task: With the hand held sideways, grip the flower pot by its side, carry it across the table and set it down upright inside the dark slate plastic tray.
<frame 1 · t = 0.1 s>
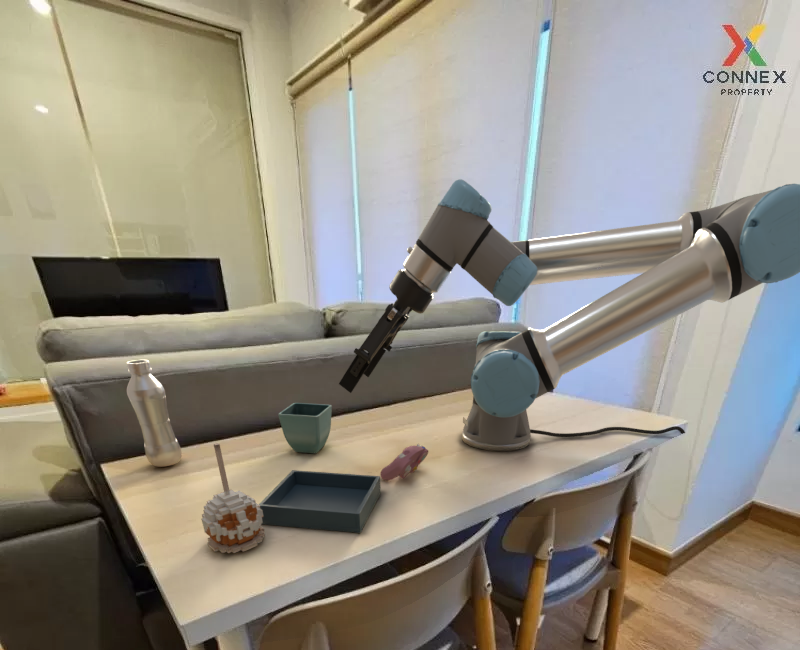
hand: (354, 380, 91), 15 cm above the table, tool tilted 35°, fingers open, 13 cm apart
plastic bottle: (167, 465, 94), on the table
pink elongated piece: (405, 475, 89), on the table
flower pot: (310, 450, 101), on the table
decorative ornament: (238, 542, 68), on the table
tray: (324, 507, 77), on the table
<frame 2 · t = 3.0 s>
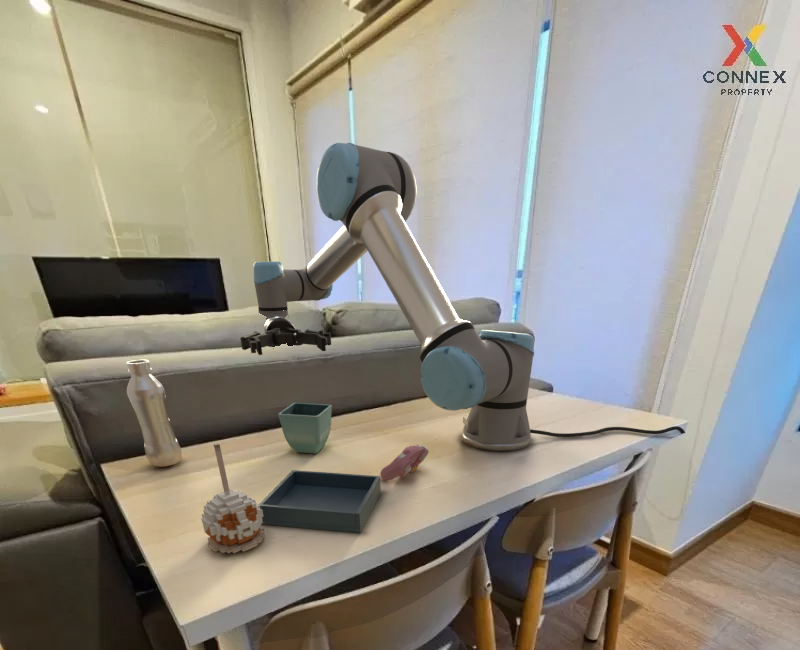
hand: (292, 346, 99), 20 cm above the table, tool horizontal, fingers open, 13 cm apart
nothing on the table moved.
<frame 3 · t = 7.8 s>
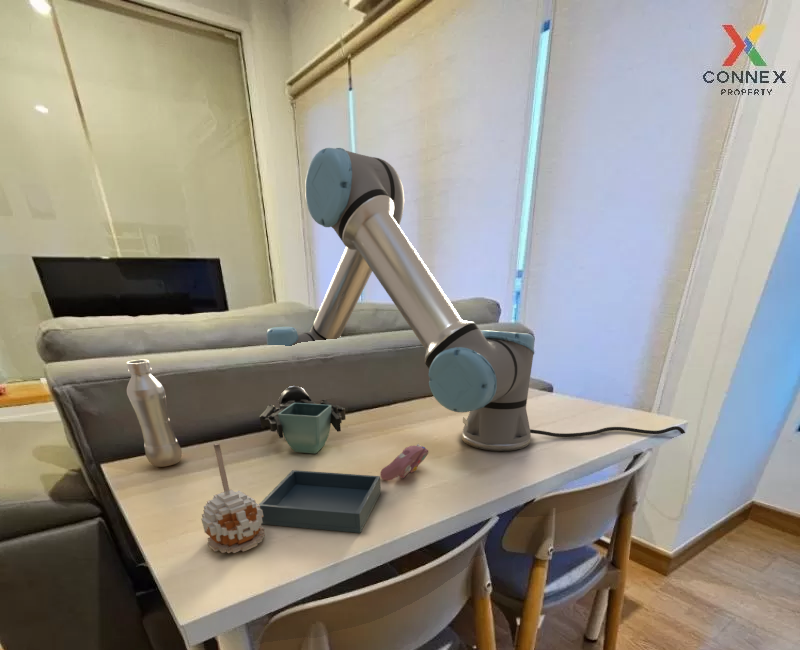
hand: (310, 428, 95), 6 cm above the table, tool horizontal, fingers closed on flower pot, 11 cm apart
flower pot: (309, 450, 101), on the table, touching gripper
everything else where it was.
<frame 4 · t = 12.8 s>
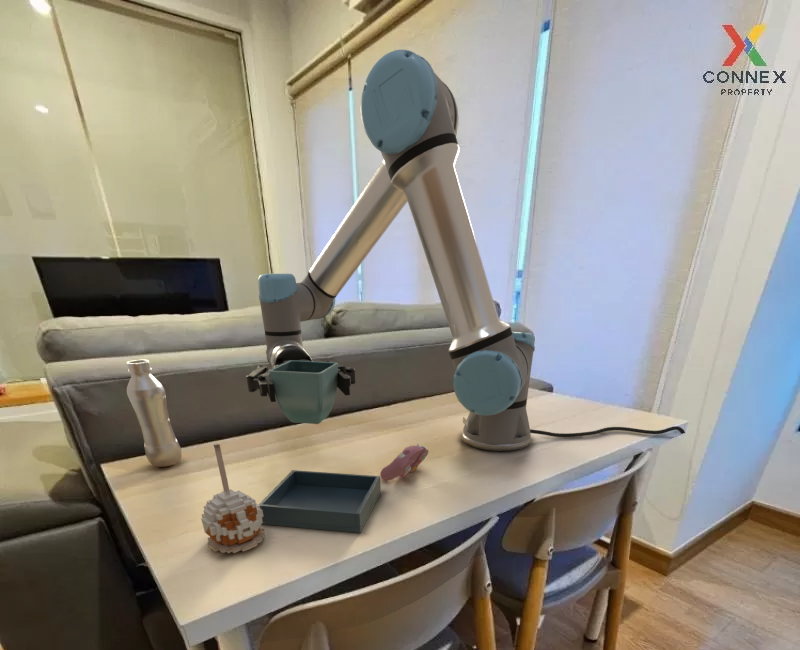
hand: (310, 389, 73), 18 cm above the table, tool horizontal, fingers closed on flower pot, 11 cm apart
flower pot: (310, 421, 80), point 12 cm above the table, touching gripper
everything else where it was.
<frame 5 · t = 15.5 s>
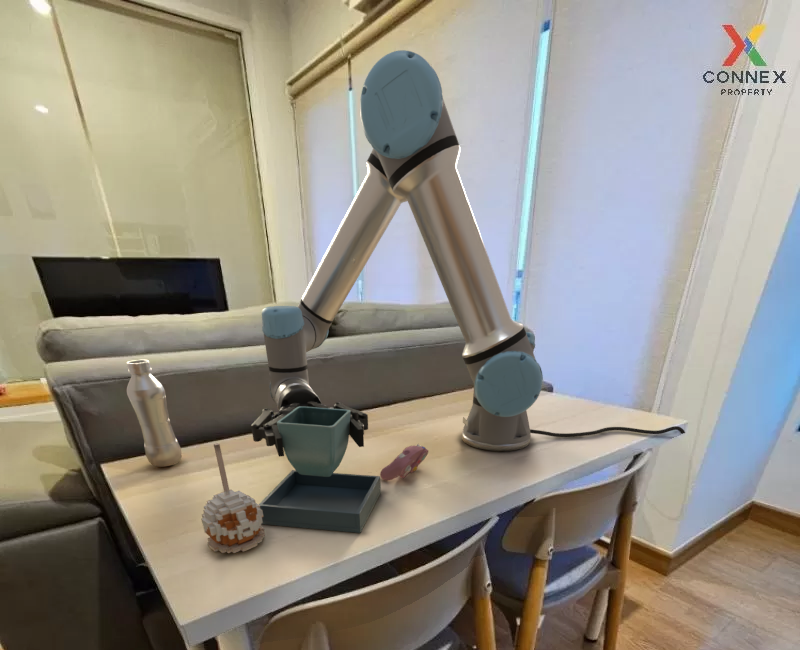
hand: (321, 442, 68), 13 cm above the table, tool horizontal, fingers closed on flower pot, 11 cm apart
flower pot: (319, 472, 74), point 6 cm above the table, touching gripper
everything else where it was.
when the fingers open (7 cm above the table, at t = 17.7 s): flower pot stays where it is, resting on tray.
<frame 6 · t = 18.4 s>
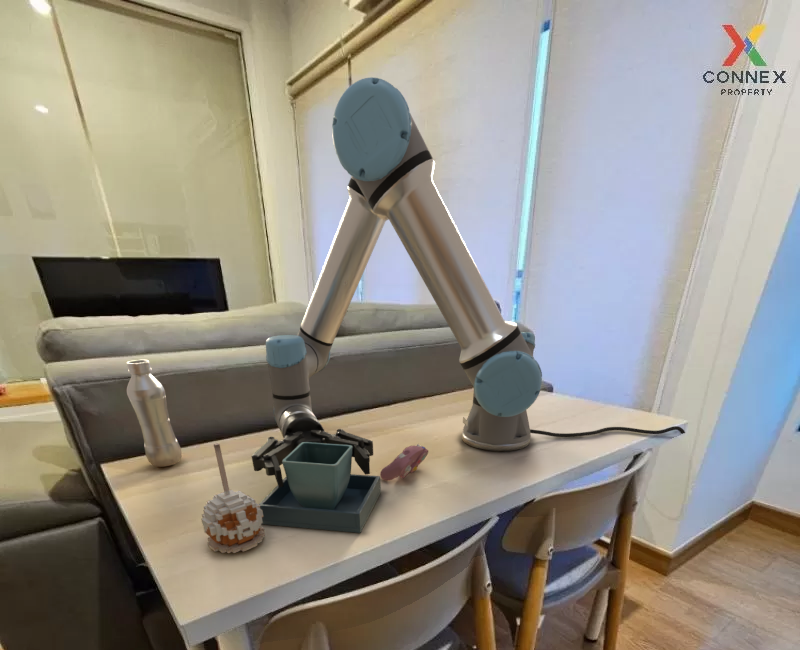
hand: (324, 472, 71), 8 cm above the table, tool horizontal, fingers open, 13 cm apart
flower pot: (323, 504, 77), point 1 cm above the table, touching tray
everything else where it was.
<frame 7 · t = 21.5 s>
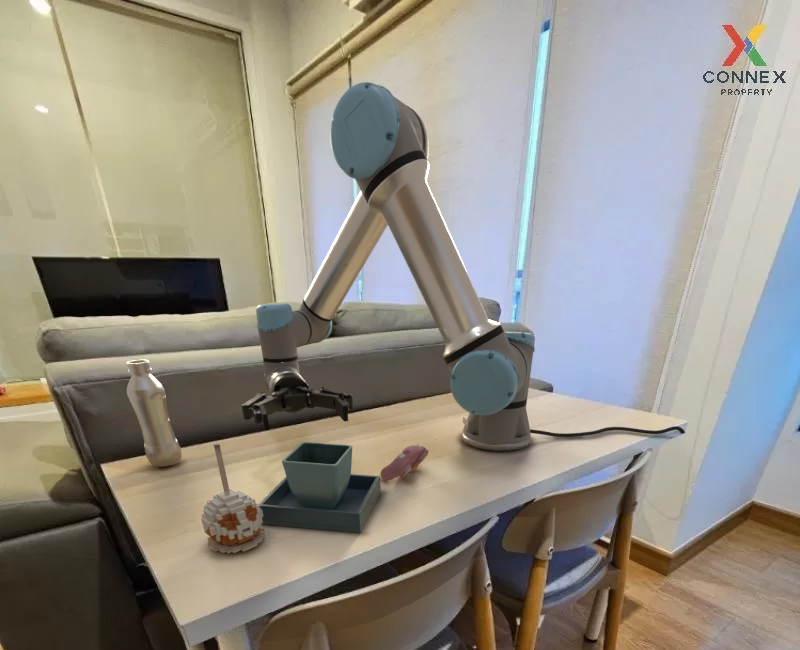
hand: (306, 418, 79), 13 cm above the table, tool horizontal, fingers open, 13 cm apart
nothing on the table moved.
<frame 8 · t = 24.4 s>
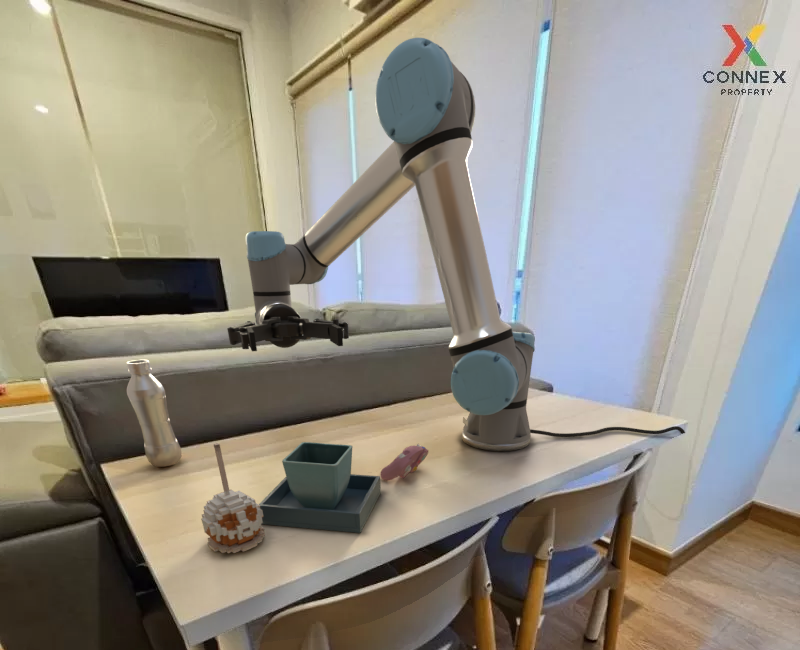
hand: (297, 339, 72), 25 cm above the table, tool horizontal, fingers open, 13 cm apart
nothing on the table moved.
at the end: flower pot inside the target area in the tray (0.1 cm from its centre), point 0.6 cm above the tray's base; flower pot tilted 0°; the gripper is holding nothing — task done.
